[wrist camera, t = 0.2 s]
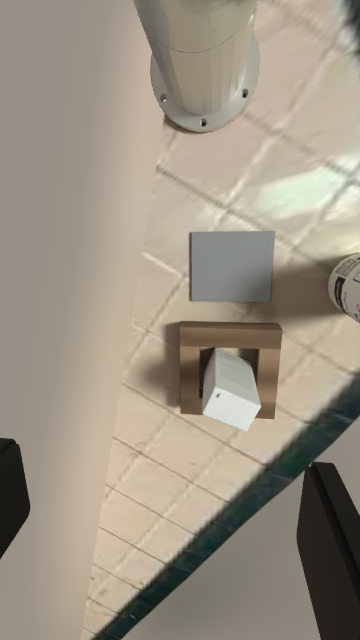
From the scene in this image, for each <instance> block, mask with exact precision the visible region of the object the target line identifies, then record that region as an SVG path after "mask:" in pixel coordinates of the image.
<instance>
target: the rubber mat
mask: <svg viewBox="0 0 360 640" xmlns="http://www.w3.org/2000/svg"><path fill="white" fill-rule="evenodd" d="M274 239H275V231H263V232H192V301H215V302H270V292H271V279H272V266H273V252H274Z"/></svg>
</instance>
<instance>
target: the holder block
mask: <svg viewBox="0 0 360 640" xmlns="http://www.w3.org/2000/svg"><path fill="white" fill-rule="evenodd" d="M281 339H282V329H281V327H280V326H279V324H278V323H240V322H198V321H182V322H181V325H180V400H181V414H194V415H203V414H202V403H203V389H200V347H222V348H253V349H257V352H256V367H255V383H256V387H257V392H258V395H259V400H260V403H261V408H260V410H259V411H258V413H257V415H256V416H255V418H263V419H274V416H275V405H276V394H277V383H278V372H279V361H280V350H281Z"/></svg>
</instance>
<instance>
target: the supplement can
mask: <svg viewBox="0 0 360 640" xmlns="http://www.w3.org/2000/svg"><path fill="white" fill-rule="evenodd" d="M328 292H329V296H330V299H331V301H332V302H333V303H334V304H335V306H336V307H337V308H339V309H340V310H342V311H343V312H344V313H346V314H347V315H349V316H350V317H351V318H353V319H354V320H356V321H357V322H358V323H360V253H359V254H353V255H351V256H349V257H347V258H346V259H344V260H342V261H341V262H340V263H339V264H338V265H337V266H336V267H335V268H334V270H333V272H332V274H331V276H330V278H329V283H328Z"/></svg>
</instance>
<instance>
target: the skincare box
mask: <svg viewBox="0 0 360 640" xmlns="http://www.w3.org/2000/svg"><path fill="white" fill-rule="evenodd" d="M260 408H261V403H260V400H259V395H258V392H257V387H256V383H255V379H254V375H253V371H252V366H251V363H250V361H247V360H245V359H242V358H240V357H238V356H235V355H233V354H230V353H228V352H225V351H223V350H221V349H218V348H216V347H215V349H214V351H213V353H212V355H211V357H210V359H209V361H208V363H207V365H206V367H205V372H204V387H203V403H202V414H203V415H205V416H208V417H210V418H213V419H215V420H218V421H220V422H223V423H225V424H228V425H231V426H233V427H235V428H238V429H240V430H243V431H245V432H246V431H247V429H248V428H249V426H250V425H251V423H252V421H253V420H254V418H255V416H256V415H257V413H258V411H259V410H260Z"/></svg>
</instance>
